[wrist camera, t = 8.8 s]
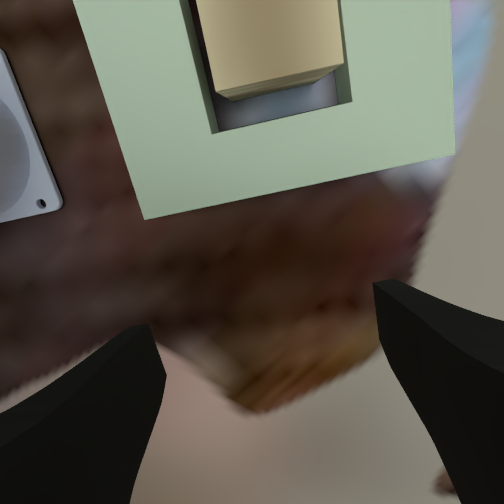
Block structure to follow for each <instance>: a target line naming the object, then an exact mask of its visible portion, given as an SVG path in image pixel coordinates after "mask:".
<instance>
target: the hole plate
mask: <svg viewBox="0 0 504 504" xmlns="http://www.w3.org/2000/svg"><path fill="white" fill-rule="evenodd" d="M73 2H74V5H75V8H76V11H77V14H78V17H79V21H80V24H81V27H82V30H83V33H84V36H85V39H86V42H87V45H88V48H89V51H90V54H91V57H92V60H93V64H94V67H95V70H96V73H97V76H98V79H99V82H100V85H101V88H102V91H103V94H104V97H105V100H106V103H107V107H108V110H109V113H110V116H111V119H112V122H113V125H114V128H115V131H116V134H117V137H118V140H119V143H120V147H121V150H122V153H123V156H124V159H125V162H126V165H127V168H128V171H129V174H130V177H131V180H132V183H133V186H134V190H135V193H136V196H137V199H138V202H139V205H140V208H141V211H142V214H143V217H144V220H147V219H151V218H156V217H161V216H166V215H170V214H175V213H180V212H184V211H189V210H194V209H199V208H203V207H208V206H213V205H218V204H222V203H227V202H232V201H237V200H241V199H246V198H251V197H255V196H260V195H265V194H270V193H274V192H279V191H284V190H289V189H293V188H298V187H303V186H307V185H312V184H317V183H322V182H326V181H331V180H336V179H341V178H345V177H350V176H355V175H359V174H364V173H369V172H374V171H378V170H383V169H388V168H393V167H397V166H402V165H407V164H412V163H416V162H421V161H426V160H430V159H435V158H440V157H445V156H449V155H454V154H455V133H454V103H453V73H452V43H451V13H450V0H337V3H338V12H339V21H340V31H341V40H342V49H343V59H344V63H343V64H342V65H340V66H339V67H337V68H336V69H334V74H335V82H336V89H337V97H338V105H334V106H330V107H325V108H321V109H317V110H312V111H308V112H304V113H299V114H295V115H291V116H286V117H282V118H278V119H273V120H269V121H265V122H260V123H256V124H252V125H247V126H243V127H239V128H234V129H230V130H226V131H221V132H219V129H218V124H217V120H216V116H215V112H214V108H213V103H212V99H211V95H210V91H209V86H208V82H207V78H206V74H205V69H204V65H203V61H202V57H201V53H200V48H199V44H198V40H197V36H196V31H195V27H194V23H193V19H192V14H191V10H190V6H189V2H188V0H73Z"/></svg>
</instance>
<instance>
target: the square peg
mask: <svg viewBox="0 0 504 504" xmlns="http://www.w3.org/2000/svg"><path fill="white" fill-rule="evenodd" d="M196 2H197V7H198V12H199V16H200V21H201V26H202V30H203V35H204V40H205V44H206V49H207V53H208V58H209V63H210V67H211V72H212V77H213V81H214V86H215V90H216V92H217V93H219V94H221V95H222V96H224V97H226V98H228V99H229V100H231V101H237V100H241V99H246V98H251V97H255V96H260V95H264V94H269V93H273V92H278V91H282V90H287V89H291V88H296V87H300V86H305V85H310V84H314V83H315V82H317V81H318V80H320V79H321V78H323V77H324V76H325V75H327V74H328V73H330V72H331V71H333V70H334V69H336V68H337V67H339V66H340V65H342V64H343V63H344V59H343V49H342V40H341V31H340V21H339V12H338V3H337V0H196Z"/></svg>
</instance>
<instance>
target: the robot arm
mask: <svg viewBox="0 0 504 504" xmlns="http://www.w3.org/2000/svg"><path fill="white" fill-rule="evenodd" d="M41 199H42V200H44V201H45V202H46V207H44V206H42V204H41V202H40V200H41ZM62 204H63V200H62V197H61V194H60V192H59V189H58V187H57V184H56V182H55V179H54V177H53V174H52V172H51V169H50V167H49V164H48V162H47V159H46V156H45V154H44V151H43V149H42V146H41V144H40V141H39V139H38V136H37V134H36V131H35V129H34V126H33V123H32V121H31V118H30V116H29V113H28V111H27V108H26V106H25V103H24V101H23V98H22V96H21V93H20V91H19V88H18V85H17V83H16V80H15V78H14V75H13V73H12V70H11V68H10V65H9V63H8V60H7V58H6V55H5V53H4V52H3V50H2V49H0V223H1V222H6V221H10V220H15V219H20V218H24V217H29V216H33V215H38V214H42V213H47V212H51V211H55V210H57V209H59V208H61V206H62ZM373 290H374V299H375V307H376V315H377V324H378V332H379V340H380V342H381V345H382V347H383V350H384V352H385V355H386V357H387V359H388V362H389V364H390V366H391V368H392V370H393V372H394V374H395V375H396V377H397V379H398V380H399V382H400V384H401V386H402V388H403V389H404V391H405V393H406V394H407V396H408V398H409V400H410V401H411V403H412V405H413V406H414V408H415V410H416V412H417V413H418V415H419V417H420V419H421V420H422V422H423V424H424V425H425V427H426V429H427V431H428V433H429V434H430V436H431V438H432V440H433V442H434V444H435V446H436V448H437V450H438V453H439V455H440V457H441V459H442V461H443V464H444V466H445V468H446V470H447V472H448V475H449V477H450V479H451V481H452V484H453V486H454V488H455V490H456V493H457V495H458V497H459V500H460V502H461V504H504V321H501V320H498V319H494V318H491V317H487V316H484V315H481V314H478V313H475V312H472V311H470V310H467V309H464V308H461V307H458V306H456V305H453V304H450V303H448V302H446V301H443V300H441V299H438V298H436V297H433V296H431V295H429V294H427V293H424V292H422V291H420V290H418V289H416V288H414V287H411V286H409V285H407V284H405V283H402V282H400V281H397V280H395V279H390V280H384V281H379V282H374V283H373ZM166 376H167V375H166V372H165V369H164V366H163V364H162V361H161V358H160V355H159V352H158V349H157V347H156V344H155V341H154V338H153V335H152V333H151V330H150V327H149V324H144V325H138V326H133V327H130V328H128V329H126V330H124V331H123V332H121V333H120V334H118V335H117V336H115V337H114V338H113V339H111V340H110V341H108V342H107V343H106V344H104V345H103V346H102V347H100V348H99V349H98V350H96V351H95V352H94V353H92V354H91V355H90V356H88V357H87V358H86V359H84V360H83V361H82V362H80V363H79V364H78V365H76V366H75V367H73V368H72V369H71V370H69V371H68V372H66V373H65V374H63V375H62V376H61V377H59V378H58V379H56V380H55V381H54V382H52V383H51V384H49V385H48V386H46V387H45V388H43V389H42V390H40V391H38V392H37V393H35V394H34V395H32V396H30V397H28V398H27V399H25V400H23V401H22V402H20V403H19V404H17V405H15V406H13V407H12V408H10V409H8V410H6V411H4V412H2V413H0V504H129V503H130V499H131V495H132V491H133V487H134V483H135V480H136V477H137V473H138V470H139V467H140V464H141V462H142V458H143V456H144V453H145V450H146V447H147V444H148V441H149V439H150V436H151V433H152V430H153V427H154V424H155V421H156V418H157V415H158V413H159V410H160V406H161V403H162V398H163V394H164V388H165V382H166Z"/></svg>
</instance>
